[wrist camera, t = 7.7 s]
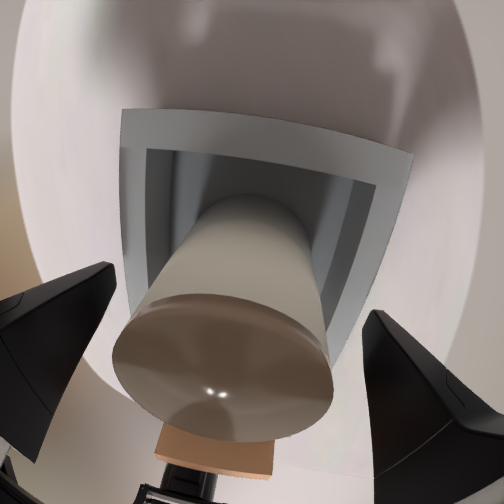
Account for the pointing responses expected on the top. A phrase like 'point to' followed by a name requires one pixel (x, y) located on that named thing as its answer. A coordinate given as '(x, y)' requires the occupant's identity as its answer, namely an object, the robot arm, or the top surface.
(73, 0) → the top surface
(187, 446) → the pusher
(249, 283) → the cream brown-topped cylinder
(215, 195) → the grey tray
